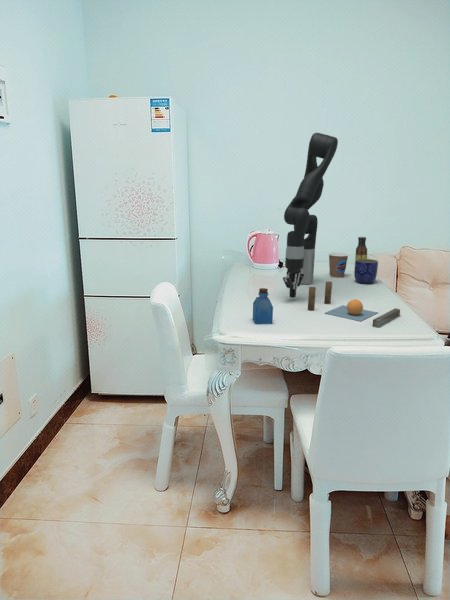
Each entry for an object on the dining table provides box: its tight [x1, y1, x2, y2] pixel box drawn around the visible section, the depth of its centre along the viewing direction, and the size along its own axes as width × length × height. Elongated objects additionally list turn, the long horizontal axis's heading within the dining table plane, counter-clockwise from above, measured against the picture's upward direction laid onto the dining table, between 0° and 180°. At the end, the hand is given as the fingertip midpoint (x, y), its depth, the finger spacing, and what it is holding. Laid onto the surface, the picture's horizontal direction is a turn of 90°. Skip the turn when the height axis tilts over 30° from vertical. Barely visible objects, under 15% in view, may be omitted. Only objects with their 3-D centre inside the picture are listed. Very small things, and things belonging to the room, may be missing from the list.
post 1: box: [307, 286, 317, 311], centre depth 182 cm, size 3×3×9 cm
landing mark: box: [324, 304, 379, 323], centre depth 179 cm, size 15×15×1 cm
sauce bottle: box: [354, 236, 368, 261], centre depth 251 cm, size 7×6×20 cm
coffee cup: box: [328, 252, 349, 279], centre depth 243 cm, size 10×10×12 cm
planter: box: [353, 258, 379, 285], centre depth 230 cm, size 11×11×11 cm
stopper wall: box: [372, 308, 401, 329], centre depth 170 cm, size 2×20×2 cm, turn 139°
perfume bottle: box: [252, 287, 274, 325], centre depth 166 cm, size 6×6×12 cm
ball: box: [346, 299, 364, 315], centre depth 176 cm, size 6×6×6 cm
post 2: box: [323, 281, 333, 305], centre depth 191 cm, size 3×3×9 cm
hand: (292, 297), depth 195 cm, fingers closed
